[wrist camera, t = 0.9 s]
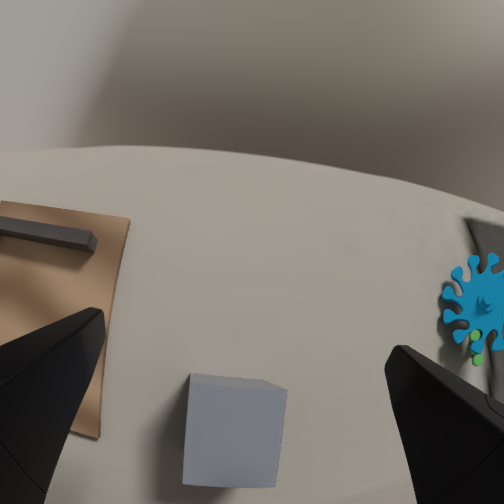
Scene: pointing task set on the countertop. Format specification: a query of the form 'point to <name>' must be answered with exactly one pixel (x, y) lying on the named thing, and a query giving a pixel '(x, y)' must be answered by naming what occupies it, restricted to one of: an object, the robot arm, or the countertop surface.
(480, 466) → the robot arm
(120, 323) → the countertop surface
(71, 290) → the dock
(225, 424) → the block
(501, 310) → the blue splash shape
